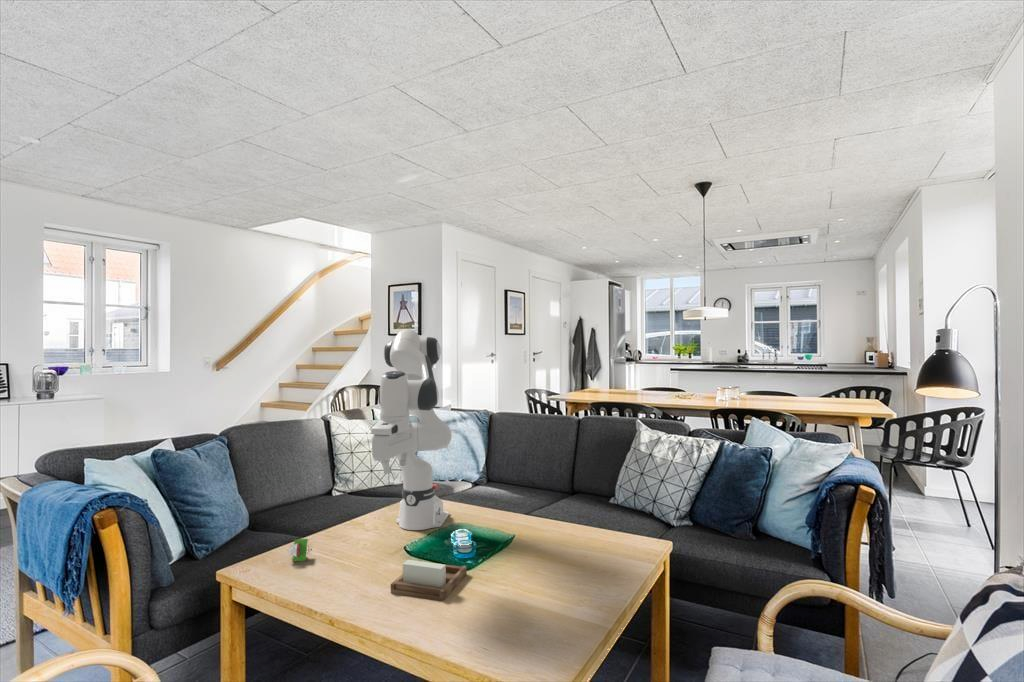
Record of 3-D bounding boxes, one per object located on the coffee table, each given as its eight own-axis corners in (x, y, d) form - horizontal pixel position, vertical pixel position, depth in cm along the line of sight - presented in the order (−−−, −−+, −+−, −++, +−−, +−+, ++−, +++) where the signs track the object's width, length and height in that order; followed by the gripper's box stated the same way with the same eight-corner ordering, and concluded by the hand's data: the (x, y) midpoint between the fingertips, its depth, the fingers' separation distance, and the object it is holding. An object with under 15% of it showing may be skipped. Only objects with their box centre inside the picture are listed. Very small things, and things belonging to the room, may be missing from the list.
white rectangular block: (408, 580, 159) (408, 559, 159) (445, 585, 155) (445, 564, 155) (403, 584, 156) (402, 563, 156) (441, 590, 152) (441, 569, 152)
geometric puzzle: (294, 547, 181) (289, 533, 176) (315, 546, 182) (310, 532, 177) (289, 567, 176) (283, 553, 171) (310, 566, 176) (306, 552, 171)
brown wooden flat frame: (418, 567, 169) (418, 559, 169) (466, 574, 164) (466, 566, 164) (390, 593, 153) (390, 584, 153) (442, 600, 148) (442, 591, 148)
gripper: (402, 418, 178) (402, 461, 179) (367, 429, 159) (368, 476, 159) (419, 419, 176) (420, 462, 177) (386, 430, 157) (387, 478, 157)
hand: (395, 469), depth 168 cm, fingers open, 8 cm apart
